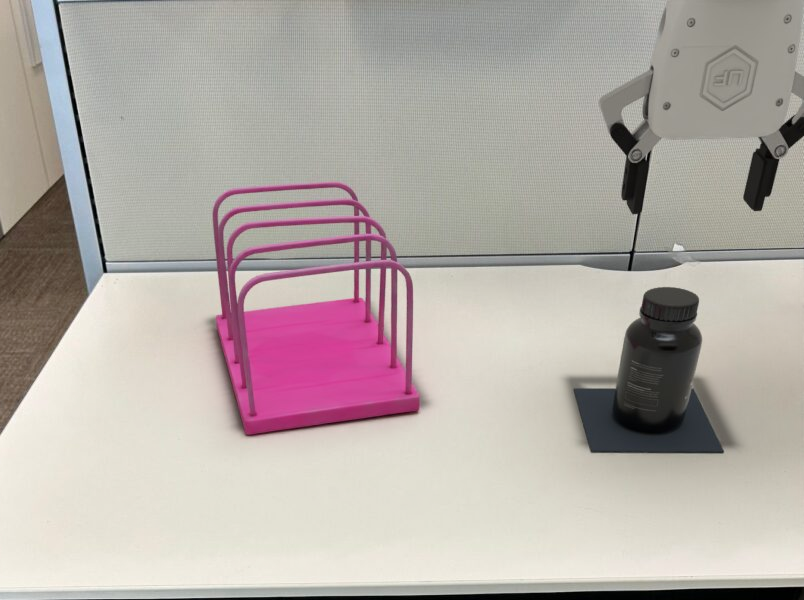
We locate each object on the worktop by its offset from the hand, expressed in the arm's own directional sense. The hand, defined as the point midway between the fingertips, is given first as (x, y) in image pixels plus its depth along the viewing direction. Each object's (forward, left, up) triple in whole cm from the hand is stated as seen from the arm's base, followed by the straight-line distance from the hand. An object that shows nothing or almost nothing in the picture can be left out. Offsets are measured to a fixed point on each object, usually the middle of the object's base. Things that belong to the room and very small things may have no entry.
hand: (692, 207), depth 77 cm
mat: (0, 0, -20) cm, 20 cm away
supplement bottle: (0, 0, -20) cm, 20 cm away
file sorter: (+34, -11, -20) cm, 41 cm away
